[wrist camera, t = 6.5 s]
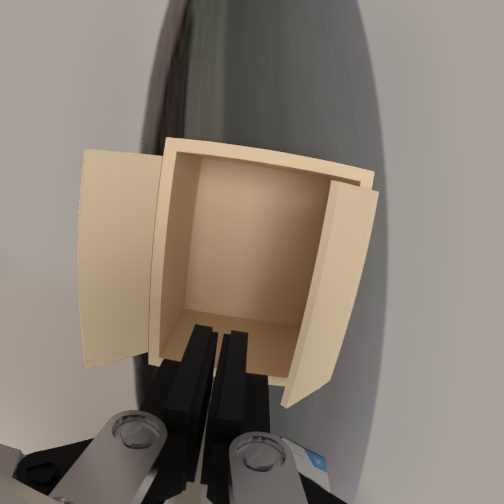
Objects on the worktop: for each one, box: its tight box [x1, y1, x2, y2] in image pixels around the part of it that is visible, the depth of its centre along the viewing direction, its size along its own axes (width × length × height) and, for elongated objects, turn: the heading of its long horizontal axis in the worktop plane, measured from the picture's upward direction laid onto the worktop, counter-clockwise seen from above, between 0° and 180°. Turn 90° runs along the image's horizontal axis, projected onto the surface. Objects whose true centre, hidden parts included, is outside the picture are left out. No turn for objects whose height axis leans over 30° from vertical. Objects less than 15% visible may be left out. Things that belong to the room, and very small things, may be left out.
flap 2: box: [281, 180, 379, 409], centre depth 18 cm, size 5×14×1 cm
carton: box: [149, 137, 374, 389], centre depth 25 cm, size 16×13×10 cm
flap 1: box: [77, 149, 163, 369], centre depth 18 cm, size 5×14×1 cm
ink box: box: [280, 437, 331, 493], centre depth 30 cm, size 9×5×15 cm, turn 49°
